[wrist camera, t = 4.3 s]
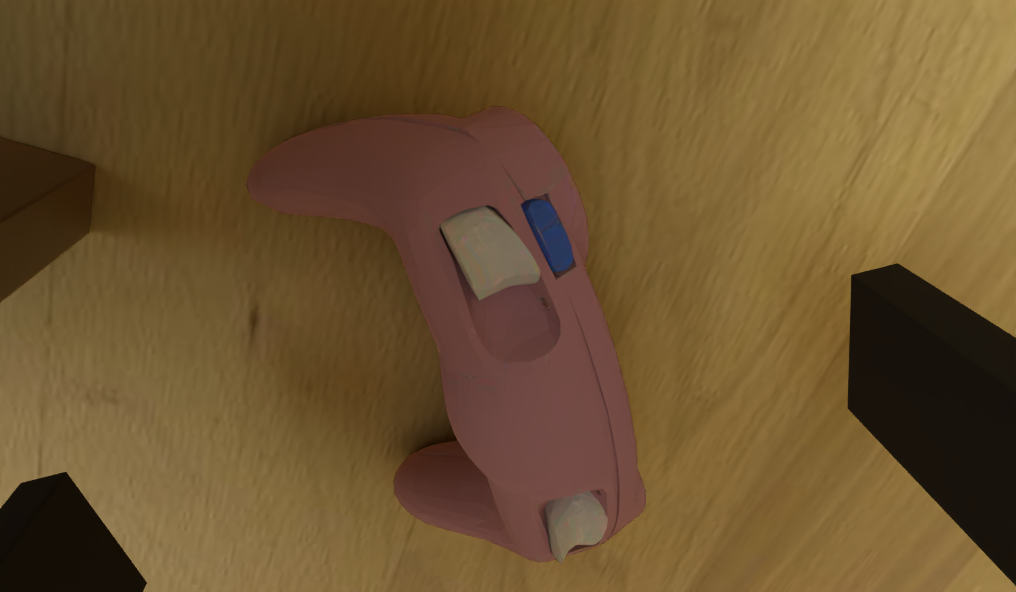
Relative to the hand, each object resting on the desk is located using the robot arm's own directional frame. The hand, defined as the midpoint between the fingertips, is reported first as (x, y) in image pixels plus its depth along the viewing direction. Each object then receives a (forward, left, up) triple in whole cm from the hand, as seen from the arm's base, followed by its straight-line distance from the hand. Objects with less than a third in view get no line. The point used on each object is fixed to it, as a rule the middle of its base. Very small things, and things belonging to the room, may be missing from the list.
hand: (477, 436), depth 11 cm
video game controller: (0, 0, -5) cm, 5 cm away
